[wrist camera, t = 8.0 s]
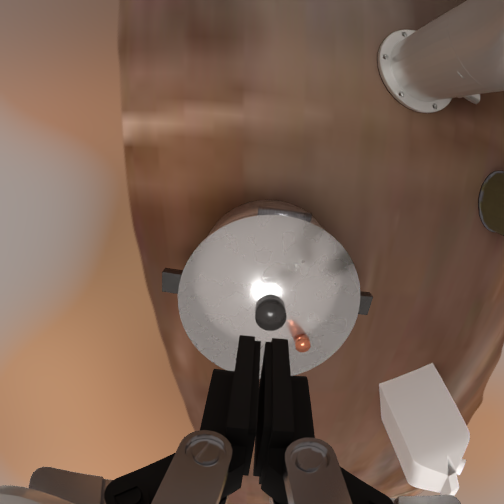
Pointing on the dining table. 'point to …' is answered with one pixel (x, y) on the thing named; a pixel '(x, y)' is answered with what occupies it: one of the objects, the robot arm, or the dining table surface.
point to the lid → (269, 289)
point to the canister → (492, 202)
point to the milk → (425, 429)
